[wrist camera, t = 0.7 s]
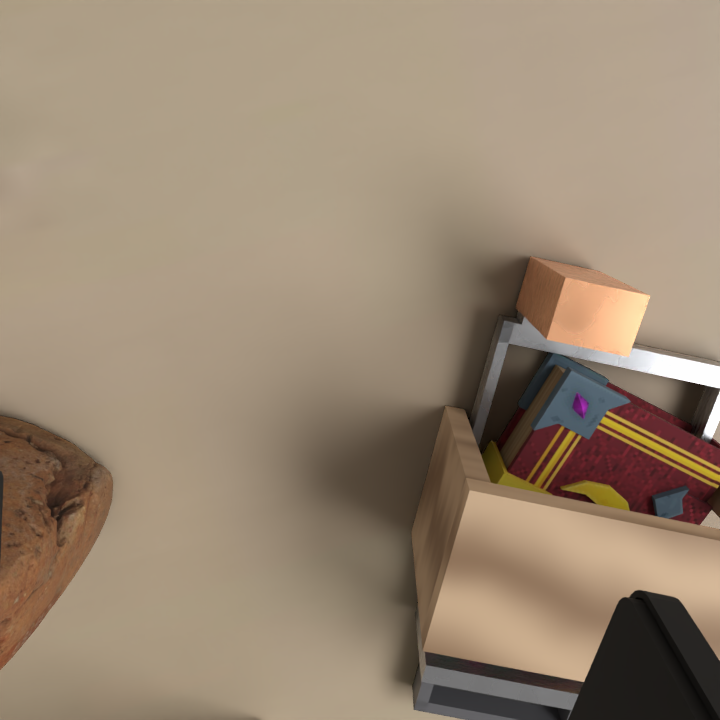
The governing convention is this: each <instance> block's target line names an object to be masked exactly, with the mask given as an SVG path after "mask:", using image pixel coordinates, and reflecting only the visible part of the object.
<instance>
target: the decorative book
mask: <svg viewBox="0 0 720 720" xmlns="http://www.w3.org/2000/svg"><path fill="white" fill-rule="evenodd" d="M518 405H519V408H518V410H517V411H516V413H515V414H514V416H513V418H512V419H511V421H510V422H509V424H508V426H507V427H506V429H505V430H504V432H503V433H502V435H501V437H500V438H499V440H498V441H497V443H495V442H493V441H490V443H489V445H488V446H487V448H486V449H485V451H484V453H483V454H482V459H483V462H484V465H485V468H486V470H487V473H488V476H489V479H490V481H491V483H494V484H499V485H504V486H509V487H514V488H519V489H524V490H529V491H534V492H539V493H543V494H548V495H553V496H558V497H563V498H568V499H573V500H578V501H583V502H588V503H593V504H598V505H603V506H608V507H612V508H617V509H622V510H627V511H632V512H637V513H642V514H647V515H652V516H657V517H662V518H667V519H672V520H677V521H681V522H686V523H691V524H696V525H700V524H701V523H702V521H703V520H704V519H705V517H706V516H707V515H708V514H709V512H710V511H711V510H712V508H713V507H712V506H711V505H710V504H709V503H708V502H707V501H708V500H709V499H710V497H711V496H712V495H713V493H714V492H715V491H716V489H717V488H718V487H719V485H720V444H719V443H718V442H717V441H716V440H714V439H713V438H712V439H711V442H710V444H709V443H708V442H706V441H704V440H702V439H700V438H698V437H696V436H694V435H692V434H691V433H690V432H691V429H692V426H691V424H689V423H687V422H685V421H683V420H681V419H679V418H677V417H675V416H673V415H671V414H669V413H667V412H665V411H663V410H662V409H660V408H658V407H656V406H654V405H652V404H650V403H648V402H646V401H644V400H642V399H640V398H638V397H636V396H634V395H632V394H631V393H629V392H627V391H625V390H623V389H621V388H619V387H617V386H615V385H613V384H611V383H609V380H608V379H607V378H605V377H604V376H602V375H600V374H598V373H596V372H594V371H592V370H591V369H589V368H587V367H585V366H583V365H581V364H579V363H577V362H575V361H573V360H572V359H570V358H568V357H566V356H564V355H561V354H556V353H551V352H549V353H548V355H547V356H546V358H545V360H544V361H543V363H542V365H541V366H540V368H539V369H538V371H537V373H536V374H535V376H534V378H533V379H532V381H531V382H530V384H529V386H528V387H527V389H526V391H525V392H524V394H523V395H522V397H521V399H520V400H519V402H518Z"/></svg>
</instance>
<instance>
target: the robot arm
mask: <svg viewBox="0 0 720 720" xmlns="http://www.w3.org/2000/svg"><path fill="white" fill-rule="evenodd" d="M3 482H4V480H3V474H2V472H1V471H0V558H1V533H2V508H3ZM568 720H720V660H719V659H718V657H717V656H716V654H715V653H714V651H713V650H712V648H711V647H710V645H709V644H708V642H707V640H706V639H705V637H704V636H703V634H702V633H701V631H700V630H699V628H698V627H697V625H696V624H695V622H694V621H693V619H692V617H691V616H690V614H689V613H688V611H687V610H686V608H685V607H684V605H683V604H682V603H681V601H680V600H679V599H678V598H675V597H672V596H668V595H663V594H658V593H653V592H648V591H643V590H636V591H634V592H633V593H632V594H631V595H630V597H629V598H628V597H623V598H621V599H620V600H619V602H618V604H617V606H616V608H615V610H614V613H613V615H612V617H611V620H610V622H609V624H608V627H607V629H606V632H605V634H604V636H603V639H602V641H601V643H600V646H599V648H598V650H597V653H596V655H595V657H594V660H593V662H592V664H591V667H590V669H589V671H588V674H587V676H586V679H585V681H584V683H583V686H582V688H581V690H580V693H579V695H578V697H577V700H576V702H575V704H574V707H573V709H572V711H571V714H570V716H569V718H568Z"/></svg>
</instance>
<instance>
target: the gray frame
mask: <svg viewBox="0 0 720 720" xmlns="http://www.w3.org/2000/svg"><path fill="white" fill-rule="evenodd" d="M412 690H413V704H414V710H418V711H423V712H428V713H434V714H439V715H444V716H450V717H455V718H460V719H465V720H568V718H569V716H570V714H571V711H572V710H567V709H562V708H557V707H552V706H546V705H541V704H536V703H531V702H525V701H520V700H515V699H510V698H504V697H499V696H494V695H488V694H483V693H478V692H473V691H467V690H462V689H457V688H452V687H446V686H441V685H436V684H431V683H425V682H421V674H420V662H419V665H418V669H417V672H416V676H415V679H414V683H413V686H412Z"/></svg>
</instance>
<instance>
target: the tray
mask: <svg viewBox="0 0 720 720" xmlns="http://www.w3.org/2000/svg"><path fill="white" fill-rule="evenodd" d="M649 297H650V296H649V295H647V294H645V293H643V292H641V291H639V290H637V289H635V288H633V287H631V286H629V285H627V284H625V283H623V282H621V281H618V280H616V279H614V278H612V277H610V276H608V275H606V274H604V273H602V272H600V271H596V270H591V269H587V268H582V267H578V266H573V265H568V264H564V263H559V262H555V261H550V260H545V259H541V258H536V257H532V256H530V260H529V263H528V266H527V270H526V273H525V277H524V280H523V284H522V287H521V291H520V294H519V298H518V301H517V305H516V309H517V310H518V313H517V317H516V318H512V317H508V316H503V315H499V317H498V321H497V325H496V328H495V332H494V335H493V339H492V342H491V346H490V349H489V353H488V356H487V360H486V363H485V367H484V371H483V374H482V378H481V381H480V385H479V388H478V392H477V395H476V399H475V402H474V406H473V410H472V413H471V417H470V420H469V423H470V426H471V429H472V431H473V434H474V437H475V440H476V443H477V445H478V448H479V444H480V441H481V437H482V434H483V431H484V427H485V424H486V420H487V417H488V413H489V410H490V406H491V403H492V400H493V396H494V393H495V389H496V386H497V382H498V379H499V376H500V372H501V369H502V365H503V362H504V358H505V355H506V351H507V348H508V345H509V344H514V345H518V346H523V347H528V348H532V349H537V350H542V351H547V352H551V353H556V354H561V355H565V356H570V357H575V358H580V359H584V360H589V361H594V362H599V363H603V364H608V365H613V366H617V367H622V368H627V369H632V370H636V371H641V372H646V373H650V374H655V375H660V376H665V377H669V378H674V379H679V380H684V381H688V382H693V383H698V384H702V385H706V386H705V389H704V391H703V394H702V397H701V399H700V402H699V404H698V407H697V409H696V412H695V414H694V417H693V419H692V422H691V426H692V429H691V432H690V433H691V434H692V435H694V436H696V437H698V438H700V439H702V440H704V441H706V442H708V443H709V444H710V442H711V439H712V437H713V434H714V432H715V429H716V427H717V424H718V422H719V419H720V362H718V361H714V360H709V359H704V358H700V357H695V356H690V355H686V354H681V353H676V352H672V351H667V350H662V349H657V348H653V347H648V346H643V345H639V344H634V340H635V337H636V334H637V332H638V329H639V326H640V323H641V320H642V317H643V314H644V312H645V309H646V306H647V303H648V300H649ZM415 617H416V628H417V639H418V651H419V662H420V674H421V682H425V683H431V684H436V685H441V686H446V687H452V688H457V689H462V690H467V691H473V692H478V693H483V694H488V695H494V696H499V697H504V698H510V699H515V700H520V701H525V702H531V703H536V704H541V705H546V706H552V707H557V708H562V709H567V710H572V709H573V707H574V704H575V702H576V700H577V697H578V695H579V693H580V690H581V688H582V686H583V683H584V682H581V681H576V680H571V679H566V678H560V677H555V676H550V675H545V674H540V673H534V672H529V671H524V670H519V669H513V668H508V667H503V666H498V665H493V664H487V663H482V662H477V661H472V660H466V659H461V658H456V657H451V656H446V655H440V654H435V653H430V652H425V651H423V649H422V639H421V629H420V618H419V608H418V605H417V608H416V612H415Z"/></svg>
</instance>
